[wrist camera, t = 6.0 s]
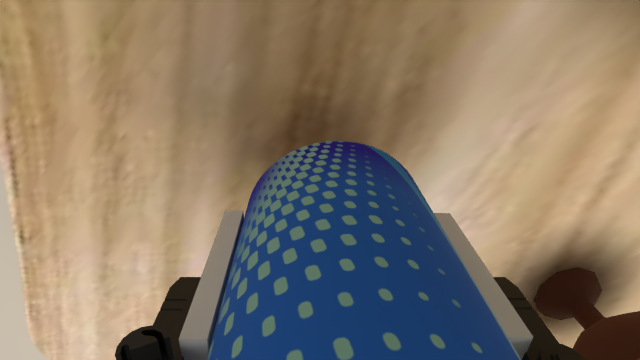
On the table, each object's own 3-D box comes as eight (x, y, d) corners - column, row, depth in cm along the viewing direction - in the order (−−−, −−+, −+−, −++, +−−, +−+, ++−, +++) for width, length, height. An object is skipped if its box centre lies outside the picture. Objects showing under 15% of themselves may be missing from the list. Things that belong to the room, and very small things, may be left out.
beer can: (294, 290, 21) (274, 914, 7) (218, 172, 17) (-168, 974, 3) (433, 239, 20) (772, 874, 5) (382, 101, 16) (988, 899, 2)
